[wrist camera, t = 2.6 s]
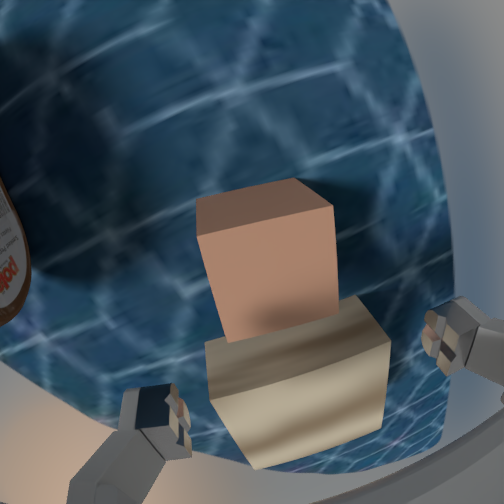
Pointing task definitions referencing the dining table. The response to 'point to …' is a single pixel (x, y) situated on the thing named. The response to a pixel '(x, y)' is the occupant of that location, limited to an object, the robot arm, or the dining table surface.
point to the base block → (301, 385)
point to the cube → (269, 257)
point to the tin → (12, 260)
